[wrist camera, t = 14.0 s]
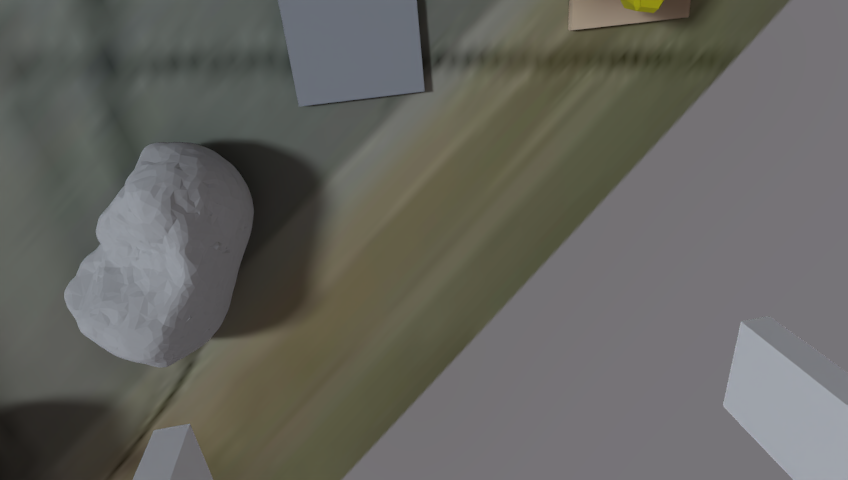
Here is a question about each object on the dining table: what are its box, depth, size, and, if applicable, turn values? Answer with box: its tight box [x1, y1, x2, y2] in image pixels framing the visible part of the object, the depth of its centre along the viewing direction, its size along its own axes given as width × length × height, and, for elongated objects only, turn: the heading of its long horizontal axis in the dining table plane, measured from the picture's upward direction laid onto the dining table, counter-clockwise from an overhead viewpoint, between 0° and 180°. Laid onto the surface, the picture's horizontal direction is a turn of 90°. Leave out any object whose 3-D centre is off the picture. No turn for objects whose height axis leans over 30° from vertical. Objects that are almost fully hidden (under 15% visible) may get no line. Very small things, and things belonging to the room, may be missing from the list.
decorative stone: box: [64, 142, 254, 367], centre depth 36 cm, size 17×10×10 cm
